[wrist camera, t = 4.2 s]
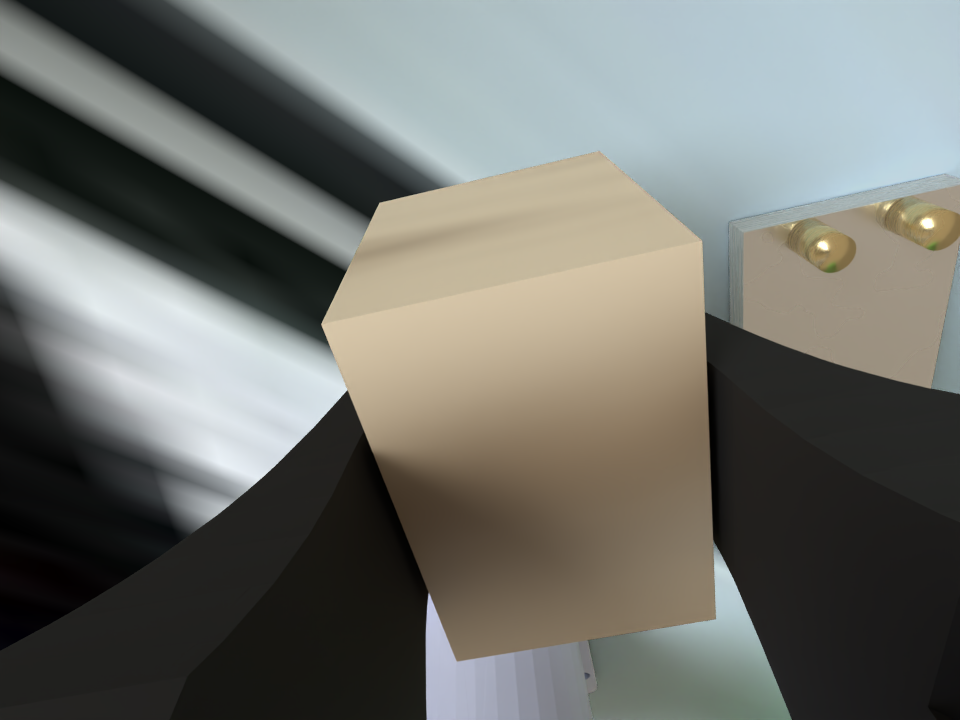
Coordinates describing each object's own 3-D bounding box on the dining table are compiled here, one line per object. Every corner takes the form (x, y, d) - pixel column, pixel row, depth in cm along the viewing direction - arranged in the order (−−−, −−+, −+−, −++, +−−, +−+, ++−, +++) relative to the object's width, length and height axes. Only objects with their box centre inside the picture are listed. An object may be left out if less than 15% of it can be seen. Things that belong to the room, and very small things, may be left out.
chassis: (897, 446, 21) (946, 494, 19) (731, 477, 22) (761, 527, 20) (944, 173, 16) (1018, 196, 14) (729, 221, 17) (768, 251, 15)
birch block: (631, 423, 13) (716, 619, 9) (458, 457, 13) (456, 661, 9) (599, 150, 10) (702, 239, 6) (379, 203, 11) (321, 324, 6)
